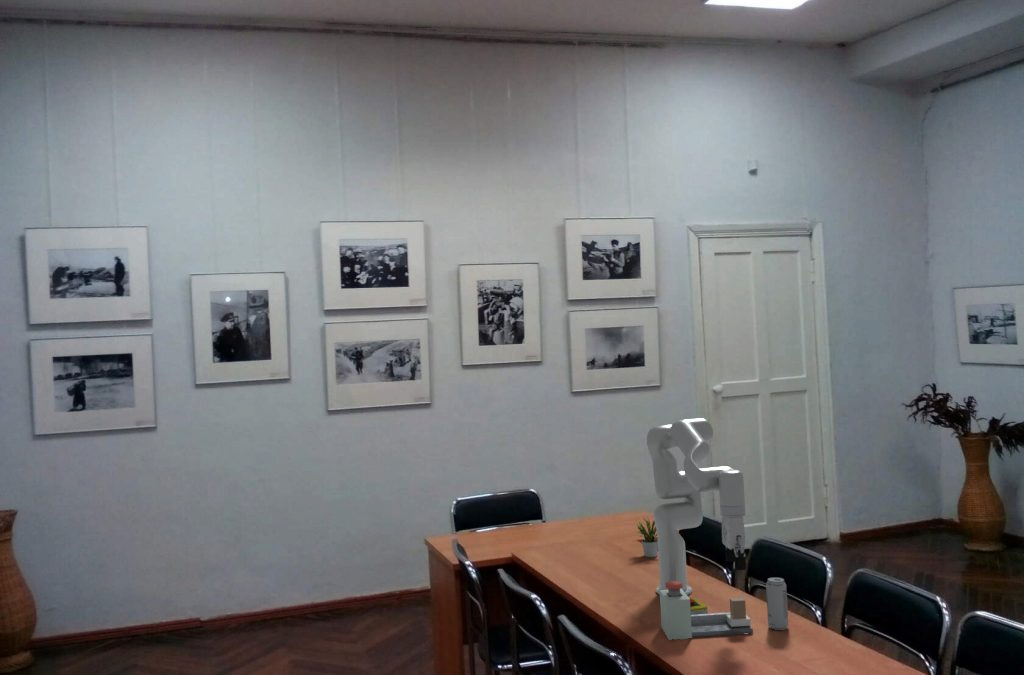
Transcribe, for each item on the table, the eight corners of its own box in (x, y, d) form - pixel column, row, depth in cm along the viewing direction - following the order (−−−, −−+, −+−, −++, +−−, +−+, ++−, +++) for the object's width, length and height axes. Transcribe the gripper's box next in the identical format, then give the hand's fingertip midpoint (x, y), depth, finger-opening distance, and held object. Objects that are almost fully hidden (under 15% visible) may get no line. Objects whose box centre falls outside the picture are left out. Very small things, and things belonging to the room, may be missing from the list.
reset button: (664, 600, 271) (663, 581, 271) (681, 599, 271) (680, 580, 271) (668, 605, 266) (667, 586, 266) (685, 604, 266) (684, 585, 266)
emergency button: (683, 607, 280) (665, 594, 295) (684, 621, 280) (666, 607, 295) (710, 604, 282) (691, 591, 297) (711, 618, 282) (692, 604, 297)
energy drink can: (769, 624, 272) (766, 576, 272) (789, 625, 270) (786, 577, 270) (767, 630, 267) (764, 581, 267) (787, 632, 265) (785, 582, 265)
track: (684, 627, 273) (683, 615, 273) (744, 623, 274) (743, 611, 274) (691, 637, 264) (690, 624, 264) (753, 633, 265) (752, 620, 265)
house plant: (669, 550, 369) (667, 512, 369) (672, 559, 355) (670, 519, 355) (635, 551, 370) (633, 513, 370) (637, 559, 357) (635, 520, 357)
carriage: (726, 621, 271) (725, 597, 271) (745, 620, 272) (744, 596, 272) (731, 626, 266) (730, 602, 266) (750, 625, 267) (749, 601, 267)
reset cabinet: (661, 628, 274) (659, 590, 274) (683, 626, 274) (681, 588, 274) (669, 640, 263) (666, 600, 263) (691, 638, 263) (689, 599, 263)
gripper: (713, 506, 278) (716, 559, 277) (728, 516, 260) (731, 573, 260) (736, 504, 278) (739, 558, 278) (753, 515, 260) (756, 572, 260)
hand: (735, 565), depth 269 cm, fingers open, 9 cm apart
